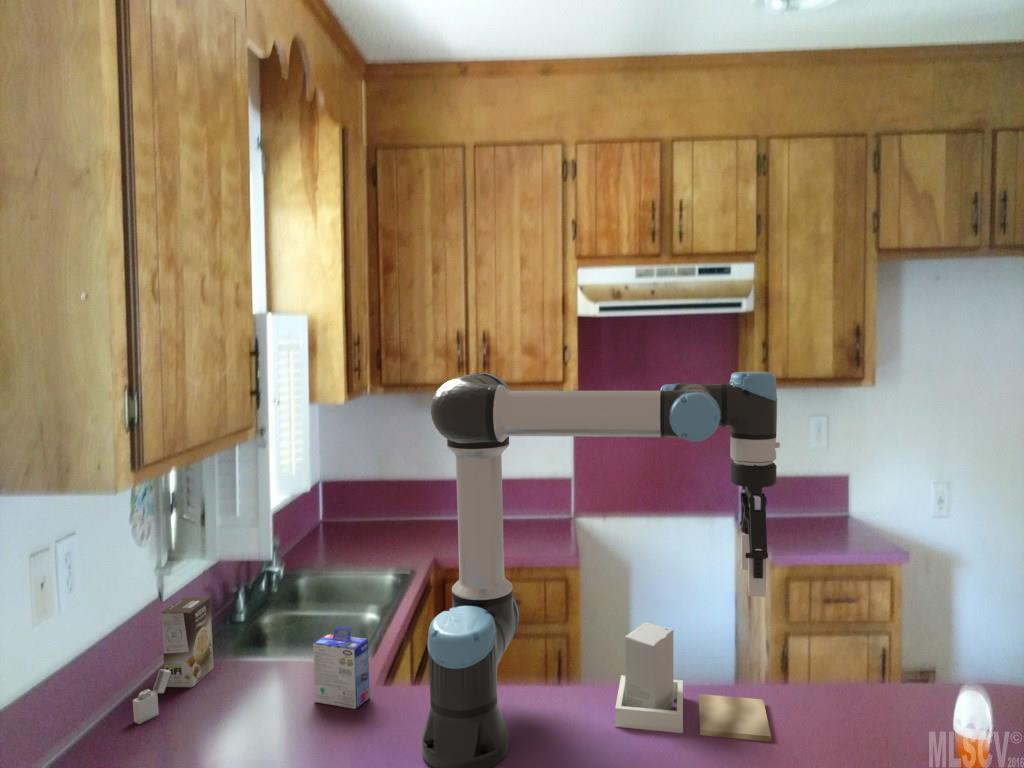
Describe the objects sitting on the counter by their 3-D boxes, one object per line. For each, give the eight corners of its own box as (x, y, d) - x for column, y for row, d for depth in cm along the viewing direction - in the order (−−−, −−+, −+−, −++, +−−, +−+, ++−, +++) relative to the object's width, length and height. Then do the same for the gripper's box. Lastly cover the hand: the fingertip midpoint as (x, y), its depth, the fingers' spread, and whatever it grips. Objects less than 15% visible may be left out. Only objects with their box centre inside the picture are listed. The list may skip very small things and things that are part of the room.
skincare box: (645, 697, 146) (645, 620, 145) (676, 708, 142) (676, 628, 141) (623, 715, 139) (622, 635, 138) (655, 726, 135) (654, 644, 134)
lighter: (138, 724, 140) (136, 683, 140) (133, 721, 141) (130, 681, 141) (173, 707, 146) (170, 668, 146) (167, 705, 147) (165, 666, 147)
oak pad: (700, 734, 132) (700, 729, 132) (698, 698, 145) (698, 693, 145) (771, 741, 130) (771, 736, 129) (763, 704, 142) (763, 699, 142)
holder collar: (615, 726, 136) (615, 708, 135) (621, 692, 148) (621, 675, 148) (682, 733, 133) (682, 714, 133) (682, 697, 146) (682, 680, 145)
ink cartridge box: (371, 697, 149) (369, 626, 148) (357, 710, 144) (354, 638, 143) (329, 690, 152) (326, 621, 151) (313, 703, 147) (310, 632, 146)
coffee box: (193, 688, 154) (189, 613, 153) (164, 687, 155) (159, 612, 154) (214, 667, 163) (210, 596, 162) (186, 667, 164) (182, 596, 163)
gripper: (786, 476, 115) (786, 609, 116) (767, 449, 139) (767, 560, 141) (736, 475, 116) (736, 606, 118) (726, 449, 141) (726, 558, 142)
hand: (753, 582), depth 129 cm, fingers open, 13 cm apart
